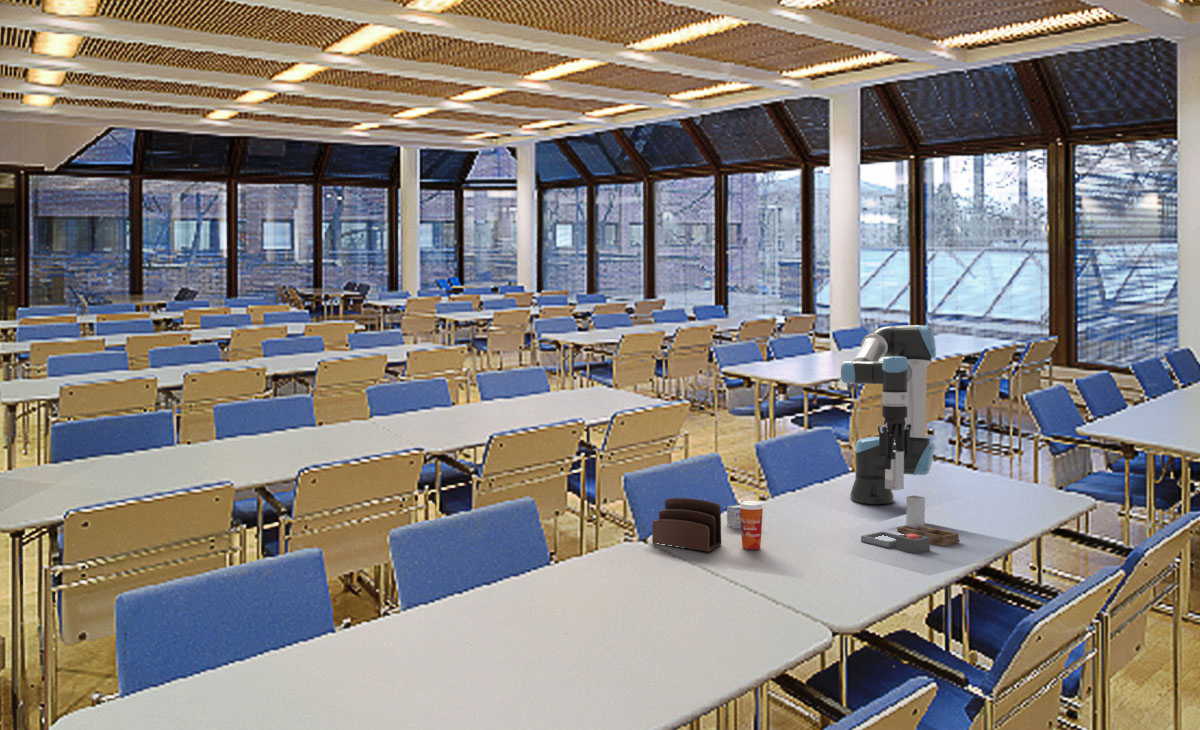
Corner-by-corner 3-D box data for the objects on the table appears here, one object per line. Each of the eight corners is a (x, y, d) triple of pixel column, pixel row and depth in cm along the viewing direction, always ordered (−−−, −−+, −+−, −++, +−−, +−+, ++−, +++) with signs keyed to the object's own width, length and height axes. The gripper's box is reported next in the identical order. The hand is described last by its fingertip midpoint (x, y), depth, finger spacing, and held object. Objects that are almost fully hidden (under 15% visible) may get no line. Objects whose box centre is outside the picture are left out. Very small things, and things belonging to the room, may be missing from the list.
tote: (860, 541, 275) (860, 535, 275) (882, 537, 281) (882, 531, 281) (888, 548, 266) (888, 542, 266) (910, 543, 272) (910, 537, 272)
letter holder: (666, 537, 283) (665, 495, 282) (721, 545, 272) (721, 501, 272) (651, 544, 274) (651, 500, 274) (709, 552, 264) (708, 506, 263)
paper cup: (736, 549, 267) (736, 504, 266) (741, 543, 274) (741, 499, 273) (761, 551, 264) (761, 506, 263) (766, 545, 271) (766, 501, 271)
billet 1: (884, 488, 273) (885, 450, 273) (893, 487, 276) (893, 449, 275) (895, 490, 270) (895, 452, 270) (903, 488, 272) (903, 451, 272)
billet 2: (906, 533, 282) (906, 496, 281) (913, 531, 284) (914, 495, 283) (916, 535, 278) (917, 498, 278) (924, 533, 280) (924, 497, 280)
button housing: (895, 549, 265) (896, 536, 265) (910, 545, 269) (910, 533, 269) (915, 553, 260) (915, 540, 259) (929, 550, 263) (929, 537, 263)
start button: (904, 539, 265) (904, 535, 265) (911, 538, 267) (911, 533, 267) (914, 542, 262) (914, 537, 262) (921, 540, 264) (921, 535, 264)
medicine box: (734, 533, 287) (734, 508, 286) (726, 531, 291) (726, 505, 290) (753, 531, 290) (753, 505, 290) (745, 528, 294) (745, 503, 294)
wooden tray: (896, 536, 282) (896, 527, 282) (913, 532, 287) (913, 523, 287) (942, 546, 268) (942, 537, 268) (959, 542, 273) (959, 533, 273)
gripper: (886, 407, 264) (886, 483, 265) (922, 404, 273) (921, 477, 274) (867, 405, 270) (866, 479, 271) (902, 402, 279) (902, 474, 280)
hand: (894, 478), depth 273 cm, fingers closed on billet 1, 4 cm apart
